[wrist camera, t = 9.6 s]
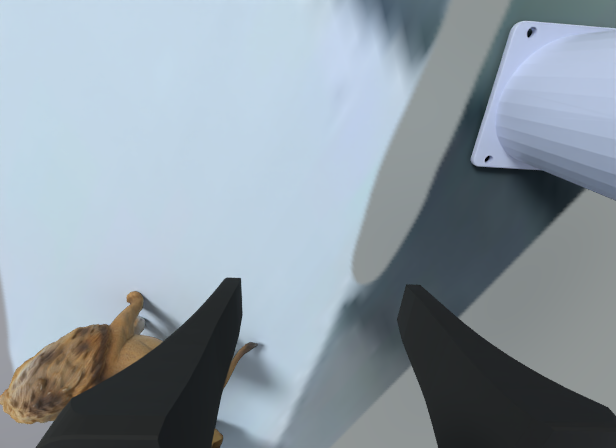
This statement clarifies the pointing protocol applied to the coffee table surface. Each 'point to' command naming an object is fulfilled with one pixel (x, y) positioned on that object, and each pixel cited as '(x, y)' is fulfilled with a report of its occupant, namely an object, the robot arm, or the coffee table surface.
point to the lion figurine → (81, 365)
